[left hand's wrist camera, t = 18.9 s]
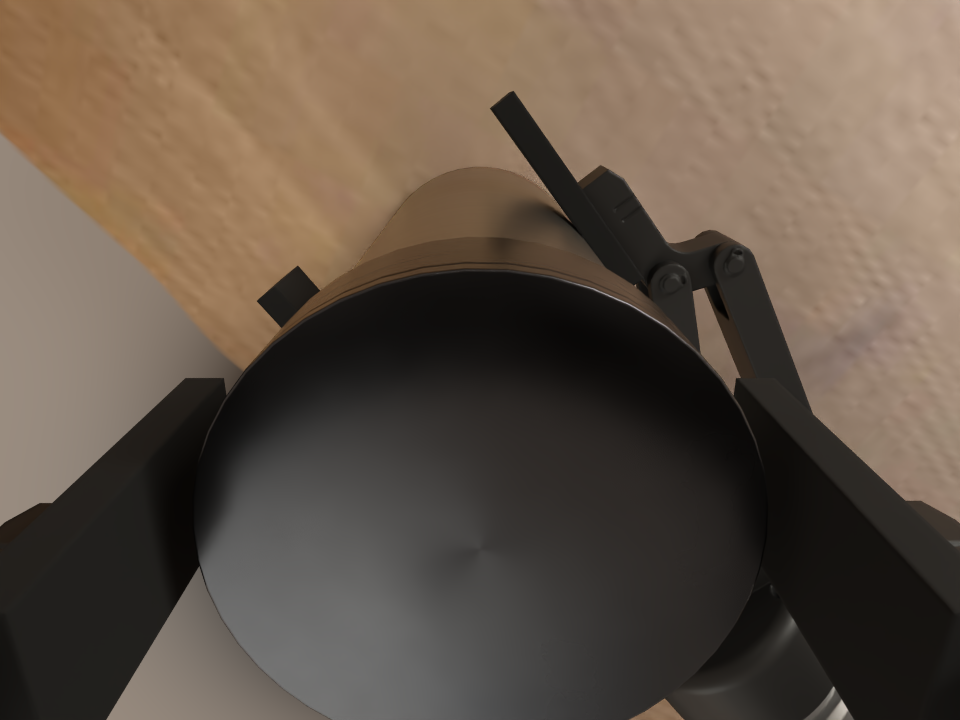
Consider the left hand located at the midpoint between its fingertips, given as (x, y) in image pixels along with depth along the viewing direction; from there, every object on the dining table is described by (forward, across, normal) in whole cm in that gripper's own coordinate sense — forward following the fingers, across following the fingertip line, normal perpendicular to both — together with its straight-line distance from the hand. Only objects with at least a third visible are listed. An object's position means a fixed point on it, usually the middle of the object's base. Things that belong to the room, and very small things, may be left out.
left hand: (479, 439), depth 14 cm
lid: (-3, 0, 0) cm, 3 cm away
